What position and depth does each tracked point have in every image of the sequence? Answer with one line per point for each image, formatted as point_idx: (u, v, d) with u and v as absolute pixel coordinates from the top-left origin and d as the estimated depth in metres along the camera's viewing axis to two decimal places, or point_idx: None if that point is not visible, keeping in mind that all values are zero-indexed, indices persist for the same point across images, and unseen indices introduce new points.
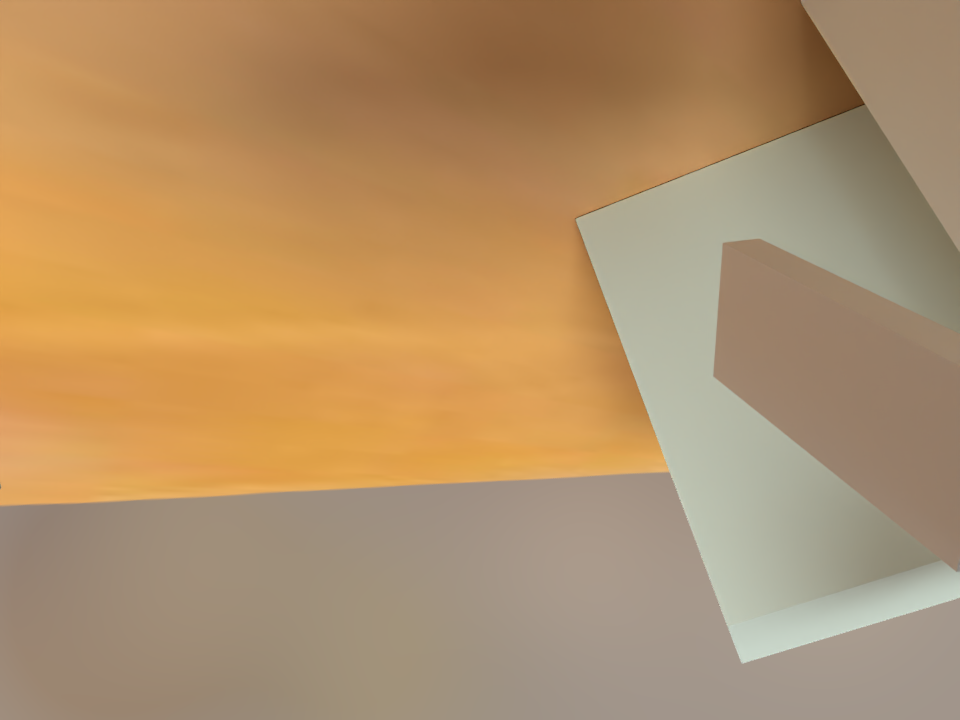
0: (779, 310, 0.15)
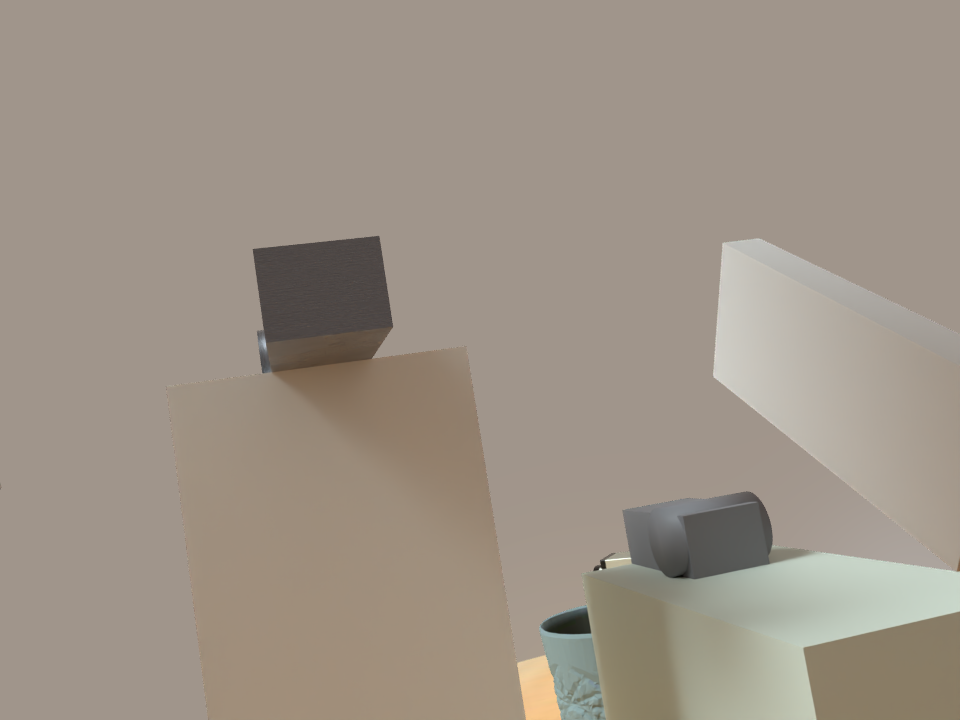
0: (779, 310, 0.15)
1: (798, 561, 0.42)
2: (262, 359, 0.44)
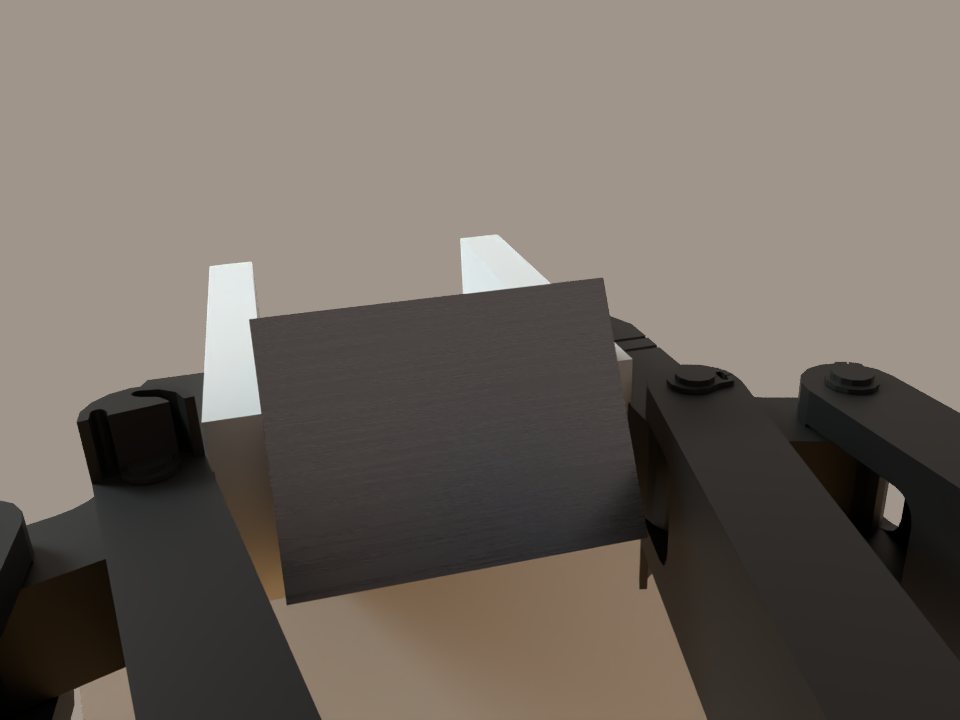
0: None
1: None
2: None
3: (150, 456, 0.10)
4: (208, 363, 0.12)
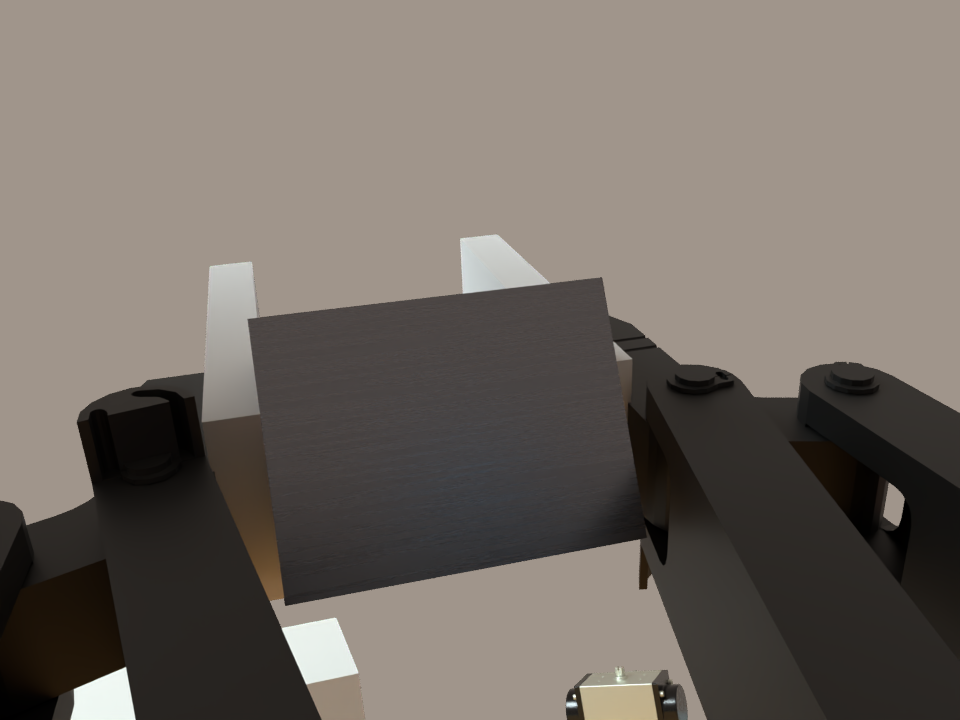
0: None
1: None
2: None
3: (150, 456, 0.10)
4: (208, 363, 0.12)
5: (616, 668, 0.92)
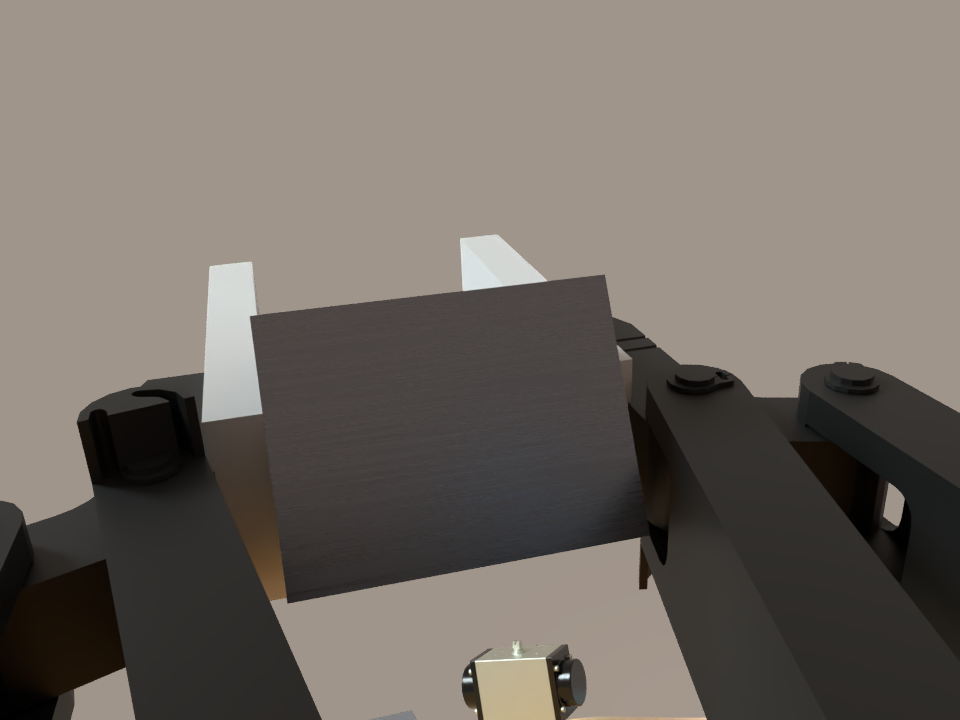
0: None
1: None
2: None
3: (150, 456, 0.10)
4: (208, 363, 0.12)
5: (514, 642, 0.89)
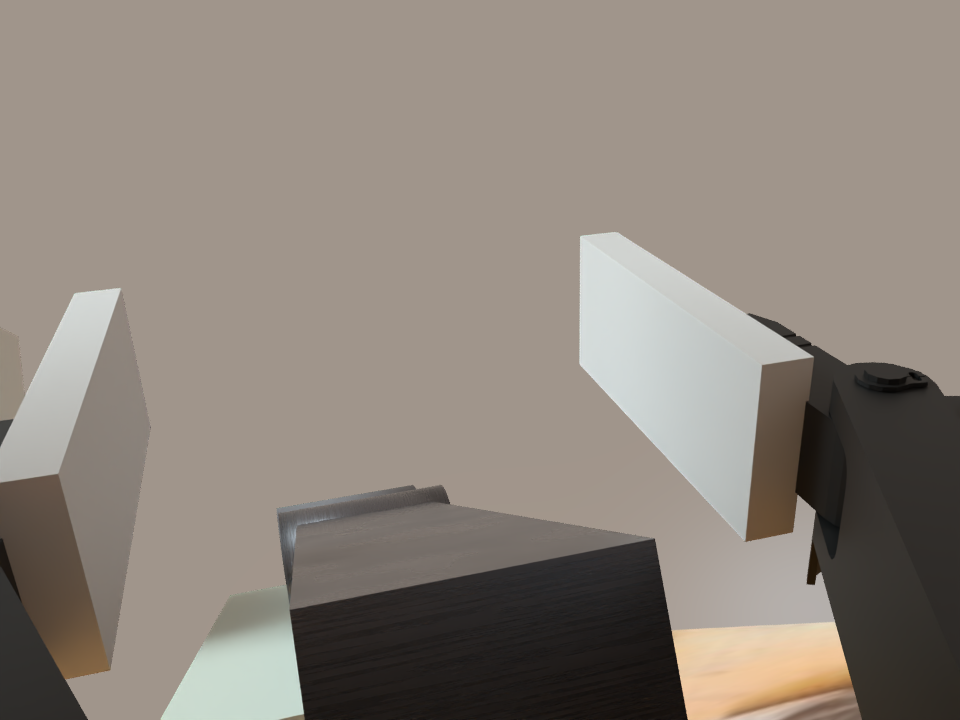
0: (620, 299, 0.16)
1: None
2: (288, 575, 0.25)
3: None
4: (22, 410, 0.11)
5: None
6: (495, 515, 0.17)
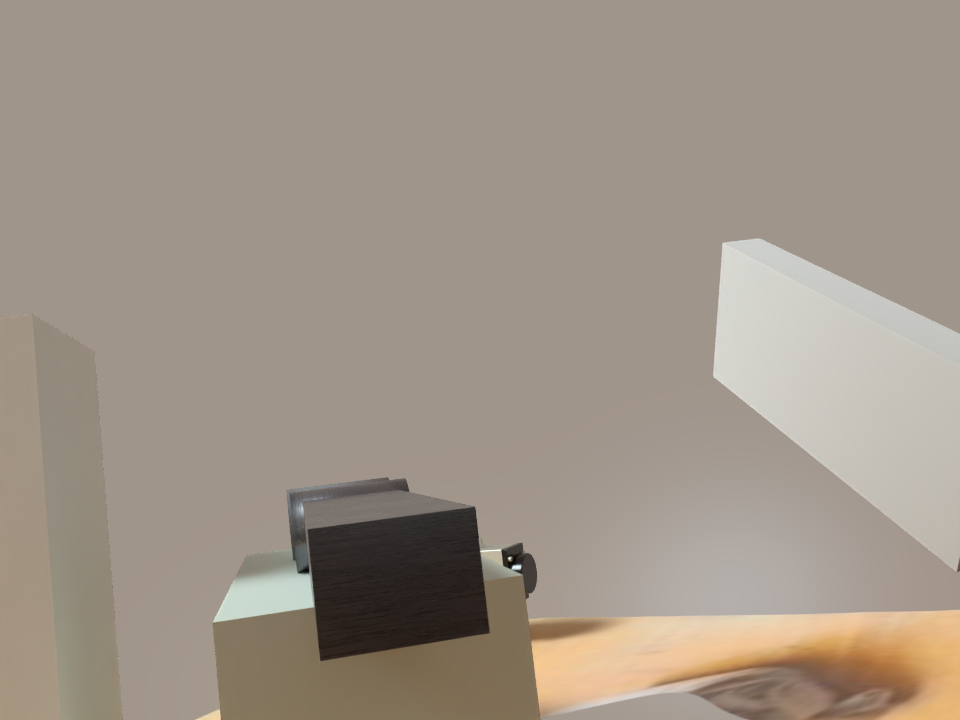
0: (779, 310, 0.15)
1: None
2: (295, 534, 0.37)
3: None
4: None
5: None
6: (424, 497, 0.29)
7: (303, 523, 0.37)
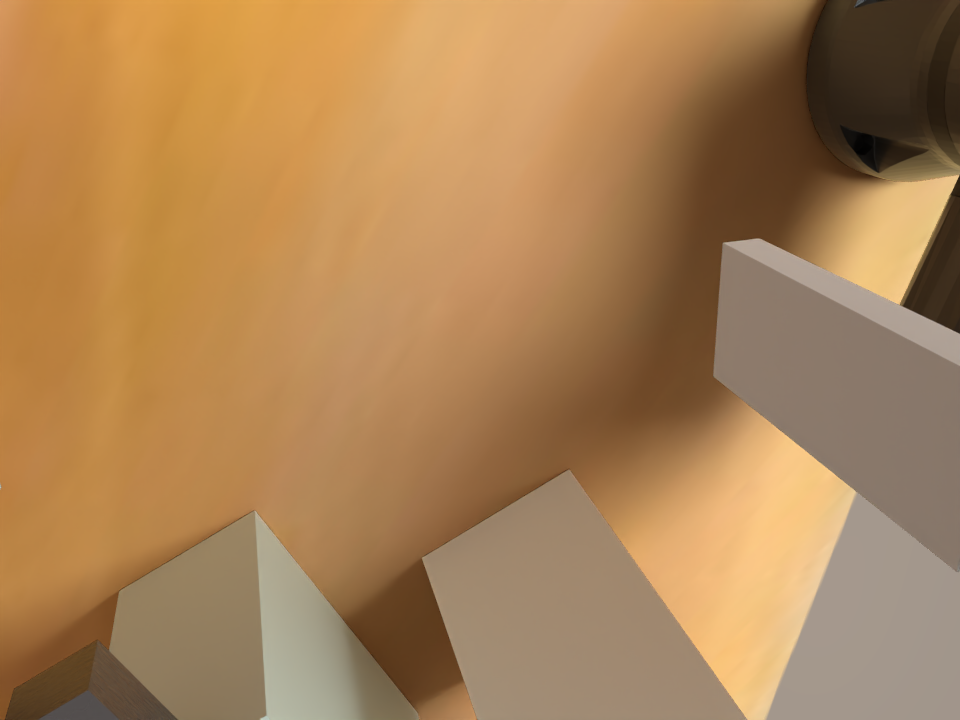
0: (779, 310, 0.15)
1: None
2: None
3: None
4: None
5: None
6: None
7: None
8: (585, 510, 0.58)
